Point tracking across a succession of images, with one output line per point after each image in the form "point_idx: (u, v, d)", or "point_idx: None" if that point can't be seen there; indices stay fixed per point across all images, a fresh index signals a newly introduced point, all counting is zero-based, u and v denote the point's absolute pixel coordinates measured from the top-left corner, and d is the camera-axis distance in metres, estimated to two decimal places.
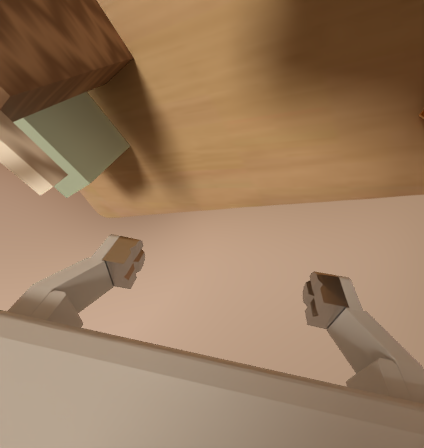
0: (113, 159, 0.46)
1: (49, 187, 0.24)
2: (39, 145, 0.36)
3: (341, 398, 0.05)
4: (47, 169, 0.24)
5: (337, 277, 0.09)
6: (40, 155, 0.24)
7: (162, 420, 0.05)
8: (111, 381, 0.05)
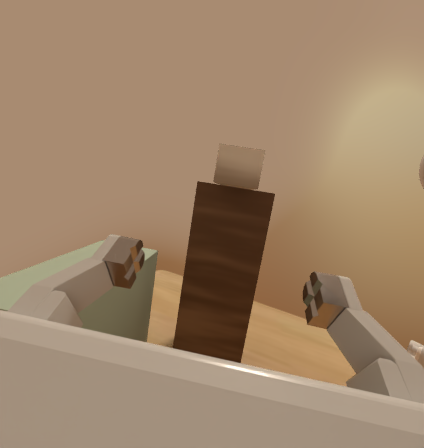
0: None
1: (255, 149, 0.15)
2: None
3: (341, 398, 0.05)
4: None
5: (337, 277, 0.09)
6: None
7: (162, 419, 0.05)
8: (111, 381, 0.05)
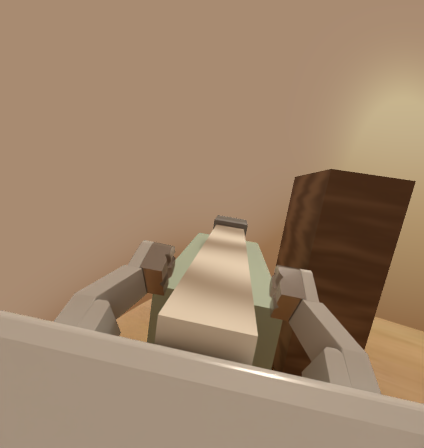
0: None
1: (237, 329, 0.07)
2: None
3: (341, 397, 0.05)
4: None
5: (299, 270, 0.10)
6: None
7: (162, 420, 0.05)
8: (111, 381, 0.05)
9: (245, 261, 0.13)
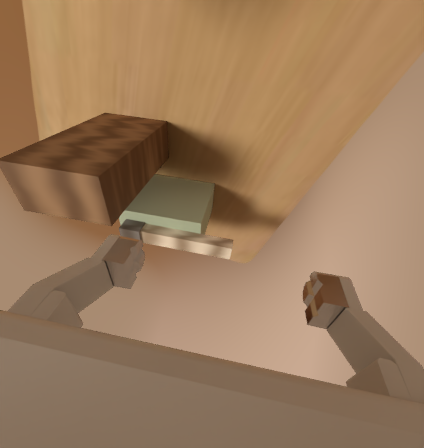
0: (208, 198, 0.49)
1: (230, 250, 0.42)
2: (156, 223, 0.44)
3: (341, 397, 0.05)
4: (224, 243, 0.43)
5: (337, 277, 0.09)
6: (217, 239, 0.43)
7: (162, 420, 0.05)
8: (111, 381, 0.05)
9: (196, 242, 0.42)
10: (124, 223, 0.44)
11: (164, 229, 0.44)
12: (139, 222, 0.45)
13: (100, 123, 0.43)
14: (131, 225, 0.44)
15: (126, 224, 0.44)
